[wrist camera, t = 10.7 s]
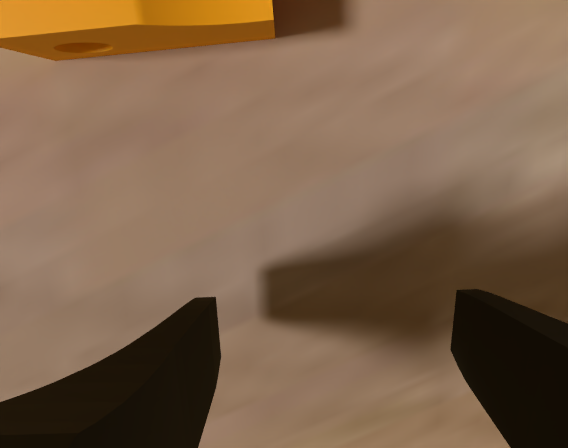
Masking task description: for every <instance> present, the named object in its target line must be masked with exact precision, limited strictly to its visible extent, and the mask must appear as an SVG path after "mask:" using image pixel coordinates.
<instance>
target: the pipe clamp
mask: <svg viewBox="0 0 568 448" xmlns="http://www.w3.org/2000/svg"><path fill="white" fill-rule="evenodd" d="M265 39H275V29H274V17H273V6H272V0H0V48H4V49H9V50H13V51H17V52H21V53H25V54H29V55H33V56H38V57H42V58H46V59H50V60H54V61H58V60H68V59H77V58H87V57H97V56H107V55H117V54H127V53H137V52H147V51H156V50H166V49H176V48H186V47H196V46H206V45H216V44H226V43H235V42H245V41H255V40H265Z"/></svg>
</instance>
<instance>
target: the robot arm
mask: <svg viewBox="0 0 568 448" xmlns="http://www.w3.org/2000/svg"><path fill="white" fill-rule="evenodd" d="M451 352H452V354H453V356H454V359H455V361H456V363H457V365H458V367H459V369H460V371H461V373H462V375H463V377H464V379H465V381H466V382H467V384H468V385H469V387H470V388H471V390H472V391H473V393H474V394H475V396H476V397H477V399H478V400H479V402H480V403H481V405H482V406H483V408H484V409H485V411H486V412H487V414H488V415H489V416H490V418H491V419H492V421H493V422H494V424H495V425H496V427H497V428H498V430H499V431H500V433H501V434H502V436H503V437H504V439H505V440H506V441H507V443H508V444H509V446H510V447H511V448H568V323H565V322H562V321H560V320H557V319H555V318H552V317H549V316H547V315H544V314H542V313H539V312H537V311H535V310H532V309H530V308H527V307H525V306H522V305H520V304H517V303H515V302H512V301H510V300H507V299H505V298H502V297H500V296H497V295H494V294H492V293H489V292H485V291H482V290H478V289H473V290H457V292H456V302H455V312H454V321H453V331H452V340H451ZM220 360H221V351H220V340H219V328H218V317H217V306H216V297H202V298H194V299H192V300H191V301H189V302H188V303H187V304H185V305H184V306H183V307H181V308H180V309H179V310H177V311H176V312H175V313H173V314H172V315H171V316H169V317H168V318H167V319H165V320H164V321H163V322H161V323H160V324H159V325H157V326H156V327H154V328H153V329H152V330H150V331H149V332H147V333H146V334H144V335H143V336H141V337H140V338H138V339H137V340H135V341H134V342H132V343H131V344H129V345H127V346H126V347H124V348H122V349H121V350H119V351H117V352H116V353H114V354H112V355H110V356H108V357H106V358H105V359H103V360H101V361H99V362H97V363H95V364H93V365H91V366H89V367H87V368H85V369H83V370H80V371H78V372H76V373H74V374H72V375H69V376H67V377H65V378H63V379H61V380H58V381H56V382H54V383H51V384H49V385H46V386H44V387H41V388H39V389H36V390H33V391H31V392H28V393H25V394H23V395H20V396H17V397H14V398H11V399H8V400H6V401H3V402H0V448H198V446H199V443H200V439H201V436H202V433H203V429H204V426H205V423H206V419H207V416H208V413H209V409H210V406H211V403H212V399H213V396H214V392H215V389H216V385H217V379H218V373H219V366H220Z"/></svg>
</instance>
